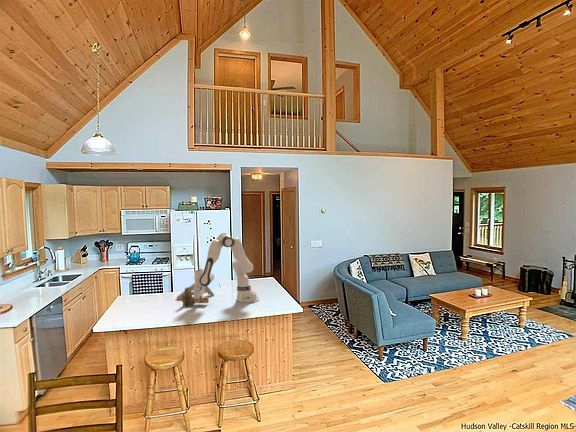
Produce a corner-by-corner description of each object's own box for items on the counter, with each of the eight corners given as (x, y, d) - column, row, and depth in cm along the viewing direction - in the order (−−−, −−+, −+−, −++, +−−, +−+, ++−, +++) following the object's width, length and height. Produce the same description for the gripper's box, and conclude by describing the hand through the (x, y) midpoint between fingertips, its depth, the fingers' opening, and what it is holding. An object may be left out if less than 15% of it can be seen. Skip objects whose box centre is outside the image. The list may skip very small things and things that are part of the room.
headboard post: (196, 301, 323) (195, 285, 322) (190, 307, 307) (189, 290, 306) (189, 301, 323) (189, 285, 323) (183, 307, 307) (182, 290, 307)
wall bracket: (190, 312, 340) (213, 293, 347) (190, 314, 336) (214, 294, 343) (176, 297, 335) (200, 277, 342) (176, 298, 330) (201, 278, 338)
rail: (208, 302, 315) (208, 295, 315) (207, 303, 311) (207, 296, 311) (191, 301, 316) (191, 295, 316) (189, 303, 313) (189, 296, 312)
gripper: (199, 283, 324) (200, 297, 324) (192, 289, 303) (192, 304, 304) (206, 283, 323) (206, 297, 324) (199, 289, 303) (199, 304, 303)
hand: (199, 300), depth 314 cm, fingers closed on rail, 3 cm apart
